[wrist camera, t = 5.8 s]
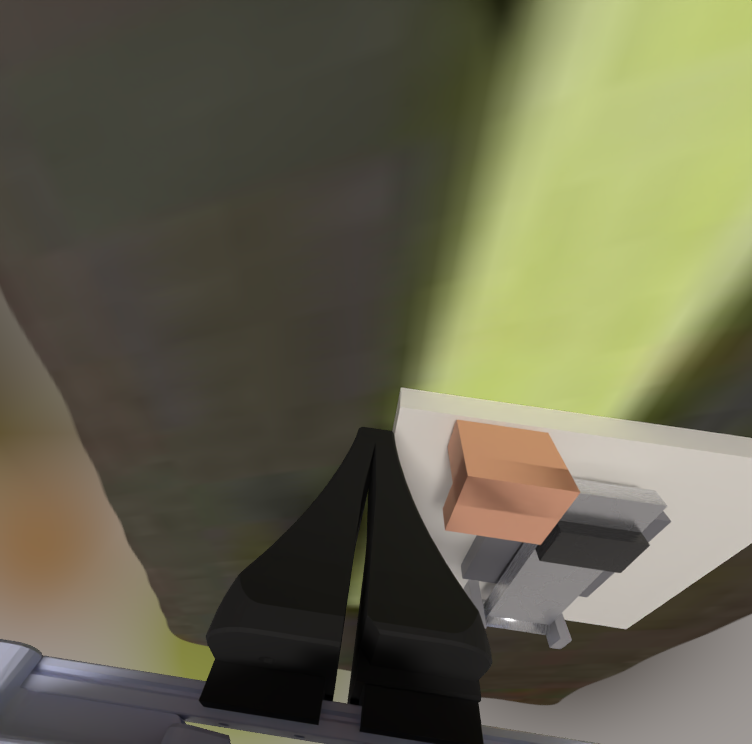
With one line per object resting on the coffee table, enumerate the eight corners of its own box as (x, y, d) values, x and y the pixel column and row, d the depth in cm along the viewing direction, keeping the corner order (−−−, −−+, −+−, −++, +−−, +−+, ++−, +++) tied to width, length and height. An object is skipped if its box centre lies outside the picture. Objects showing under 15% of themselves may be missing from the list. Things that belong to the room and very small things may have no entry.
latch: (518, 483, 15) (540, 544, 13) (438, 472, 15) (444, 530, 13) (548, 432, 13) (580, 492, 11) (456, 419, 13) (467, 475, 11)
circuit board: (615, 605, 25) (648, 675, 21) (365, 567, 25) (359, 631, 21) (816, 447, 15) (940, 530, 11) (400, 387, 15) (398, 450, 12)
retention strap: (536, 613, 21) (545, 644, 20) (478, 604, 22) (483, 635, 20) (650, 484, 14) (678, 518, 13) (564, 472, 14) (581, 504, 13)
